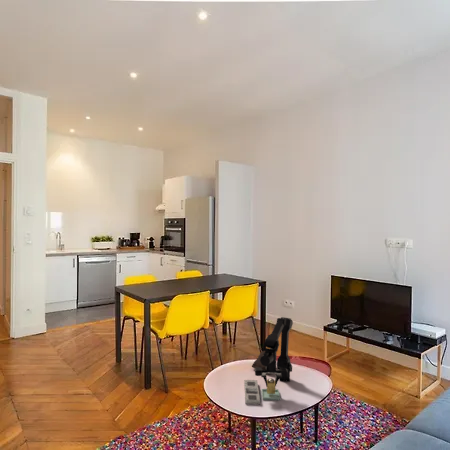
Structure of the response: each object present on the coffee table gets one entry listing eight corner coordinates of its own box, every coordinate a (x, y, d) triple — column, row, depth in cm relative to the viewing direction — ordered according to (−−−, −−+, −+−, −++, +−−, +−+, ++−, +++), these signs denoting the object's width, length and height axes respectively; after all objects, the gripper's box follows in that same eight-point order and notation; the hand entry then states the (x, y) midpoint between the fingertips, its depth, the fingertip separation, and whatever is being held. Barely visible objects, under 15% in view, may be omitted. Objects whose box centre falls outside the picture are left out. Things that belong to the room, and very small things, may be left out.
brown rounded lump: (268, 364, 234) (278, 353, 246) (248, 360, 242) (259, 350, 254) (270, 378, 235) (279, 366, 247) (250, 373, 243) (260, 362, 256)
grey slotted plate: (257, 384, 222) (257, 380, 222) (259, 404, 198) (259, 399, 198) (244, 383, 222) (244, 379, 222) (245, 403, 198) (245, 399, 198)
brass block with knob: (274, 390, 210) (274, 378, 210) (275, 393, 205) (275, 381, 205) (266, 389, 210) (266, 377, 210) (267, 393, 205) (267, 381, 205)
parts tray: (278, 391, 213) (278, 389, 212) (280, 400, 203) (280, 397, 202) (261, 391, 213) (261, 388, 213) (262, 399, 203) (262, 397, 203)
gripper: (285, 354, 215) (285, 380, 215) (254, 354, 216) (254, 379, 216) (288, 362, 204) (287, 389, 204) (255, 361, 204) (255, 388, 205)
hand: (270, 386), depth 208 cm, fingers closed on brass block with knob, 4 cm apart
